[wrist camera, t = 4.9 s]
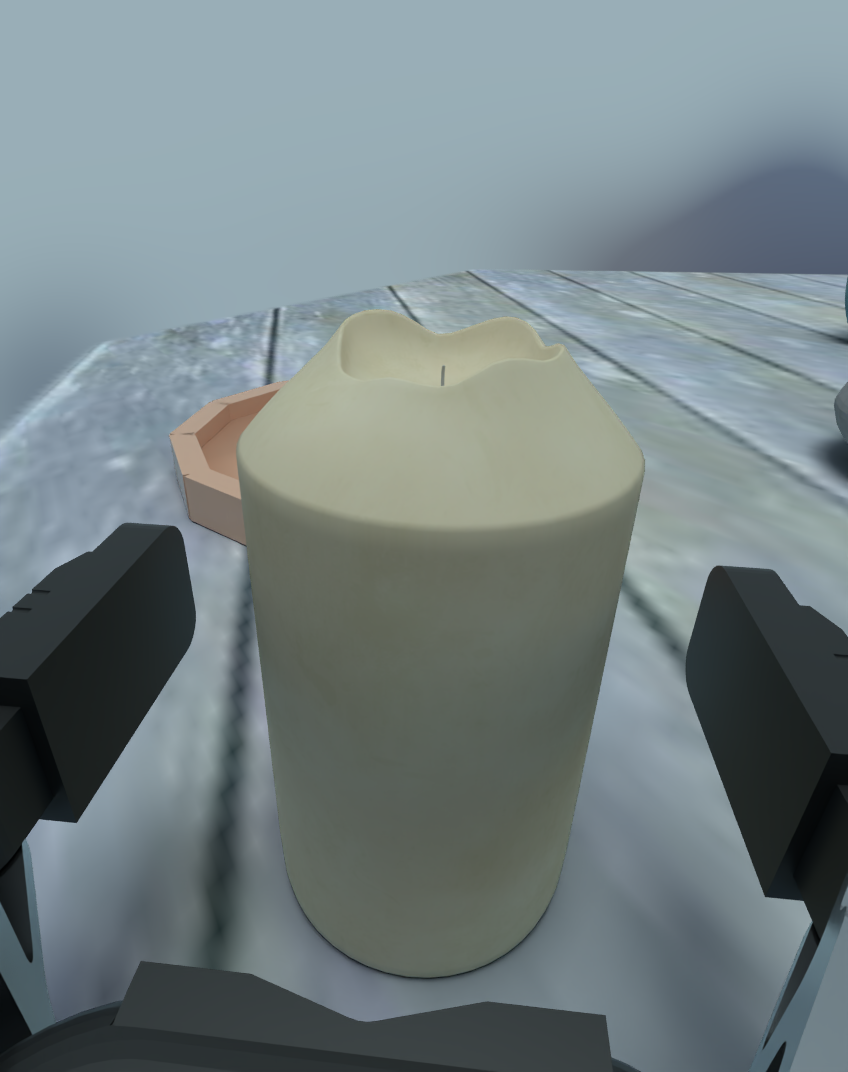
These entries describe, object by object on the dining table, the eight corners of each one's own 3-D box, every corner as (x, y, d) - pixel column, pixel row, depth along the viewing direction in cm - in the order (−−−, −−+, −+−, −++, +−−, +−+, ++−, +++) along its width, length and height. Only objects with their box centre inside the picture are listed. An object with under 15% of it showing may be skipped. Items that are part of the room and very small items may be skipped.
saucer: (460, 394, 40) (462, 364, 39) (656, 515, 26) (665, 473, 25) (161, 427, 33) (155, 392, 32) (217, 609, 20) (209, 557, 19)
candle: (227, 839, 13) (136, 320, 8) (418, 700, 17) (432, 282, 12) (430, 1066, 10) (474, 434, 5) (613, 835, 13) (742, 334, 9)
